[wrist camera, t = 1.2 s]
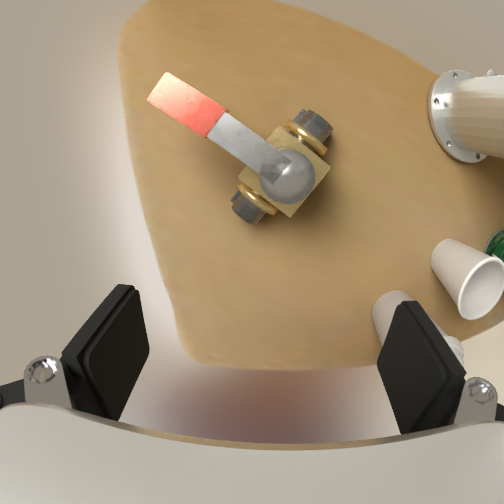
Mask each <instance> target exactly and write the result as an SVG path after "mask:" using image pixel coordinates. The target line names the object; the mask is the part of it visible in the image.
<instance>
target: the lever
mask: <svg viewBox="0 0 504 504" xmlns="http://www.w3.org/2000/svg"><path fill="white" fill-rule="evenodd" d="M147 101H149V102H151V103H152V104H154V105H155V106H157V107H158V108H160V109H161V110H163V111H165V112H166V113H168V114H169V115H171V116H172V117H174V118H175V119H177V120H178V121H180V122H181V123H183V124H184V125H186V126H187V127H189V128H190V129H192V130H193V131H195V132H196V133H198V134H199V135H200V136H202V137H203V138H210V139H211V140H212V141H214V142H215V143H217V144H218V145H220V146H221V147H222V148H224V149H225V150H227V151H228V152H229V153H231V154H232V155H234V156H235V157H236V158H238V159H239V160H240V161H242V162H243V163H245V164H246V165H247V166H249V167H250V168H251V169H253V170H254V171H255V172H257V173H258V174H259V179H260V184H261V187H262V189H263V191H264V192H265V194H266V195H267V196H268V197H269V198H270V199H272V200H274V201H276V202H278V203H282V204H293V203H297V202H299V201H301V200H303V199H304V198H306V197H307V196H308V195H309V194H310V192H311V191H312V189H313V187H314V184H315V170H314V167H313V165H312V163H311V161H310V160H309V159H308V158H307V157H306V156H305V155H304V154H302V153H301V152H299V151H296V150H294V149H289V148H282V149H278V150H277V149H276V148H275V147H273V146H272V145H271V144H269V143H268V142H267V141H265V140H264V139H263V138H261V137H260V136H259V135H257V134H256V133H254V132H253V131H252V130H250V129H249V128H247V127H246V126H245V125H243V124H242V123H240V122H239V121H238V120H236V119H235V118H233V117H232V116H230V115H229V114H227V113H228V112H229V111H227V110H226V109H224V108H223V107H222V106H220V105H219V104H217V103H216V102H214V101H212V100H211V99H209V98H208V97H206V96H205V95H203V94H202V93H200V92H199V91H197V90H195V89H194V88H192V87H191V86H189V85H187V84H186V83H184V82H183V81H181V80H179V79H178V78H176V77H174V76H173V75H171V74H169V73H168V72H166V73H165V74H164V75H163V77H162V78H161V80H160V81H159V82H158V84H157V85H156V87H155V88H154V90H153V91H152V92H151V94H150V95H149V97H148V98H147Z"/></svg>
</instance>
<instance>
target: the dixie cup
mask: <svg viewBox="0 0 504 504" xmlns="http://www.w3.org/2000/svg"><path fill="white" fill-rule="evenodd" d="M431 268H432V270H433V272H434V273H435V274H436V276H437V277H438V279H439V280H440V281H441V283H442V284H443V286H444V287H445V289H446V290H447V292H448V293H449V295H450V296H451V298H452V299H453V301H454V302H455V304H456V305H457V307H458V310H459V313H460V315H461V316H462V317H463V318H465V319H467V320H475V319H478V318H480V317H482V316H484V315H486V314H487V313H488V312H489V311H490V310H491V309H492V308H493V307H494V306H495V305H496V303H497V302H498V300H499V299H500V297H501V295H502V293H503V290H504V263H503V262H502V260H501V259H499V258H497V257H491V256H489V255H487V254H485V253H483V252H480V251H478V250H476V249H474V248H472V247H470V246H467V245H465V244H463V243H461V242H459V241H456V240H454V239H445V240H443V241H441V242H440V243H439V244H438V245H437V246H436V247H435V249H434V251H433V253H432V256H431Z"/></svg>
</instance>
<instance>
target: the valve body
mask: <svg viewBox="0 0 504 504" xmlns="http://www.w3.org/2000/svg"><path fill="white" fill-rule="evenodd" d="M284 126H285V128H286V129H288V130H289V131H290V133H288V132H287V131H286V130H284V129H283V128H282V127H280V126H279V125H278V126H277V127H276V128H275V129H274V131H273V132H272V133H271V134H270V136H269V137H268V138H267V139H266V141H267V142H268V143H269V144H271V145H272V146H273V147H275V148H276V149H277V150H278V149H282V148H289V149H294V150H296V151H299V152H301V153H302V154H304V155H305V156H306V157H307V158H308V159H309V160H310V161H311V163H312V165H313V167H314V170H315V184H314V187H313V189H312V191H313V190H314V189H315V187H316V186H317V185H318V184H319V182H320V181H321V180H322V179H323V178H324V176H325V175H326V174H327V173H328V172H329V170H330V169H331V167H330V166H329V165H328V164H327V163H325V162H324V161H323V160H322V159H321V158H319V157H318V156H317V155H316V154H315V153H314V152H317V153H318V154H320V155H321V156H323V155H324V154H325V153H326V151H327V148H326V147H325V146H324V145H323V143H324V142H325V140H326V139H327V138H328V137H329V136H330V134H331V133H332V132H331V131H332V130H333V128H332V127H331V125H330V124H329V123H328V122H327V121H325V120H324V119H323V118H322V117H321V116H319V115H318V114H316V113H315V112H313V111H311V110H308V111H307V112H306V111H305V110H304V109H303V110H302V111H301V112H300V113H299V114H298V115H297V117H296V118H295V119H294V120H293V121H292V120H288V121H287V123H286V124H285V125H284ZM238 179H239V180H240V182H239V183H238V185H237V189H238V191H237V192H236V194H235V195H234V196H233V198H232V199H231V202H233V203H234V204H233V205H232V209H233V210H234V212H235V213H236V214H237V215H238V216H240V217H241V218H242V219H243V220H245V221H246V222H248V223H250V224H252V225H256V223H257V222H258V221H260V220H261V219H262V218H263V216H264V215H265V214H266V213H268V214H270V215H275V213H276V212H277V211H278V210H280V211H282V212H283V213H284V214H286V215H287V216H288V217H289V218H290V217H291V216H292V215H293V214H294V213H295V211H296V210H297V209H298V208H299V207H300V205H301V204H302V203H303V202H304V201H305V199H306V198H307V197H308V196H309V195H310V194H309V195H308V196H307V197H306V198H304V199H303V200H301V201H299V202H297V203H293V204H282V203H278V202H276V201H274V200H272V199H270V198H269V197H268V196H267V195H266V194H265V192H264V191H263V189H262V187H261V184H260V179H259V174H258V173H257V172H255V171H254V170H253V169H251V168H250V167H249V166H247V165H246V166H245V168H244V169H243V170H242V172H241V173H240V175H239V176H238ZM312 191H311V192H312ZM311 192H310V193H311Z"/></svg>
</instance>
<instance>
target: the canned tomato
mask: <svg viewBox="0 0 504 504" xmlns="http://www.w3.org/2000/svg"><path fill="white" fill-rule="evenodd" d="M484 253H485V254H487V255H489V256H491V257H497V258H499V259H501V260H502V262H503V263H504V229H501V230H498V231H497V232H495V233H494V234H493V235H492V237H491V238H490V239H489V241H488V243H487V245H486V248H485V251H484Z"/></svg>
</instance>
